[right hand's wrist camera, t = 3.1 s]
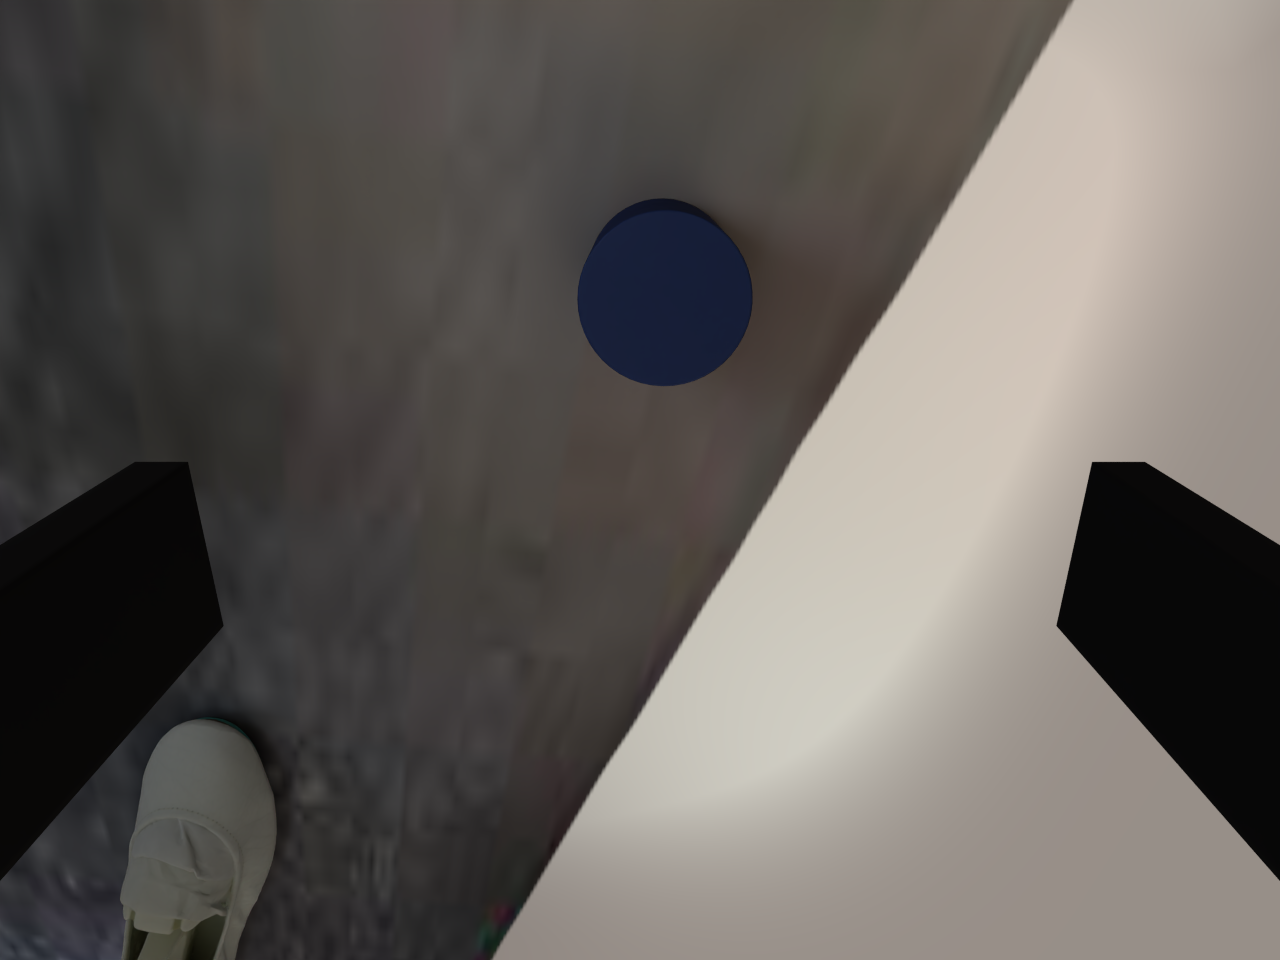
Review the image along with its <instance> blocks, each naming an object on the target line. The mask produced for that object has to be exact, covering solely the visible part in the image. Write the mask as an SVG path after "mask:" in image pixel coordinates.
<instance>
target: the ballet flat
mask: <svg viewBox="0 0 1280 960" xmlns="http://www.w3.org/2000/svg"><path fill="white" fill-rule="evenodd" d="M276 835H277V819H276V809H275V802H274V795H273V791H272V789H271V786H270V783H269V780H268V778H267V775H266V773H265V770H264V767H263V764H262V762H261V759H260V757H259V754H258V752H257V750H256V748H255V746H254V744H253V743H252V741H251V740H250V739H249V737H248V736H247V735H246V734H245V733H244V732H243V731H242V730H241V729H240V728H239V727H237V726H236V725H234V724H233V723H231V722H228V721H226V720H224V719H220V718H213V717H204V718H199V719H196V720H190V721H186V722H184V723H181V724H179V725H177V726H175V727H174V728H172V729H171V730H170V731H169V732H168V733H167V734H165V735H164V736H163V737H162V739H161V740H160V741H159V742H158V744H157V746H156V748H155V749H154V751H153V753H152V755H151V757H150V760H149V762H148V764H147V767H146V769H145V773H144V776H143V781H142V790H141V797H140V802H139V808H138V814H137V819H136V824H135V831H134V833H133V835H132V838H131V841H130V845H129V863H128V868H127V871H126V876H125V879H124V882H123V885H122V891H121V897H120V901H121V903H122V904H123V905H124V906H123V915H124V919H125V920H126V926H125V933H124V942H123V953H122V959H121V960H235V957H236V952H237V948H238V943H239V939H240V937H241V934H242V931H243V929H244V927H245V924H246V921H247V918H248V916H249V914H250V912H251V909H252V907H253V906H254V904H255V903H256V901H257V900H258V896H259V894H260V892H261V890H262V887H263V885H264V883H265V880H266V878H267V876H268V873H269V870H270V867H271V864H272V861H273V856H274V851H275V845H276Z"/></svg>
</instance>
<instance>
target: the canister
mask: <svg viewBox="0 0 1280 960" xmlns="http://www.w3.org/2000/svg"><path fill="white" fill-rule="evenodd" d="M751 309H752V284H751V278H750V274H749V271H748V268H747V265H746V263H745V260H744V258H743V256H742V254H741V253H740V251H739V249H738V248H737V246H736V245H735V244H734V242H733V241H732V240H731V238H730V237H729V236H728V235H727V234H726V233H725V232H724V231H723V230H722V229H721V228H720V227H719V226H718V225H717V224H716V223H715V222H714V221H713V220H712V219H711V218H710V217H709V216H708V215H707V214H705V213H704V212H703V211H701V210H700V209H698V208H696V207H694V206H693V205H690V204H688V203H685V202H682V201H678V200H674V199H651V200H646V201H642V202H639V203H636V204H633V205H631V206H629V207H627V208H625V209H624V210H622V211H621V212H619V213H618V214H617V215H616V216H614V217H613V218H612V219H611V220H610V221H609V222H608V223H607V225H606V226H605V227H604V228H603V230H602V231H601V233H600V234H599V236H598V237H597V240H596V242H595V244H594V246H593V248H592V250H591V252H590V254H589V256H588V258H587V260H586V262H585V264H584V267H583V270H582V273H581V276H580V281H579V286H578V312H579V317H580V321H581V325H582V328H583V330H584V333H585V335H586V337H587V339H588V341H589V343H590V345H591V346H592V348H593V349H594V351H595V352H596V353H597V354H598V356H599V357H600V358H601V359H602V360H603V361H604V362H605V363H606V364H607V365H608V366H609V367H611V368H612V369H613V370H615V371H616V372H618V373H619V374H621V375H623V376H625V377H627V378H629V379H631V380H634V381H637V382H640V383H644V384H648V385H655V386H674V385H680V384H685V383H688V382H692V381H695V380H697V379H699V378H702V377H704V376H706V375H707V374H709V373H711V372H712V371H714V370H715V369H717V368H718V367H719V366H720V365H722V364H723V363H724V362H725V361H726V360H727V359H728V358H729V357H730V356H731V354H732V353H733V352H734V350H735V349H736V348H737V347H738V345H739V343H740V341H741V340H742V338H743V336H744V334H745V331H746V329H747V326H748V323H749V319H750V316H751Z"/></svg>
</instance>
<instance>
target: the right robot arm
mask: <svg viewBox="0 0 1280 960" xmlns="http://www.w3.org/2000/svg"><path fill="white" fill-rule="evenodd" d="M222 627H223V621H222V617H221V612H220V607H219V603H218V598H217V594H216V589H215V584H214V580H213V575H212V571H211V566H210V561H209V557H208V552H207V548H206V543H205V539H204V534H203V529H202V525H201V520H200V516H199V511H198V506H197V502H196V497H195V493H194V488H193V484H192V479H191V474H190V470H189V465H188V462H134V463H133V464H131V465H129V466H128V467H126V468H124V469H123V470H121V471H120V472H118V473H116V474H115V475H113V476H112V477H110V478H108V479H107V480H105V481H103V482H102V483H100V484H99V485H97V486H95V487H94V488H92V489H90V490H89V491H87V492H86V493H84V494H82V495H81V496H79V497H77V498H76V499H74V500H73V501H71V502H69V503H68V504H66V505H65V506H63V507H61V508H60V509H58V510H56V511H55V512H53V513H52V514H50V515H48V516H47V517H45V518H43V519H42V520H40V521H39V522H37V523H35V524H34V525H32V526H30V527H29V528H27V529H26V530H24V531H22V532H21V533H19V534H17V535H16V536H14V537H13V538H11V539H9V540H8V541H6V542H5V543H3V544H1V545H0V880H1V879H2V878H3V877H4V876H5V875H6V874H7V872H8V871H9V870H10V869H11V868H12V867H13V866H14V864H15V863H16V862H17V861H18V860H19V859H20V858H21V856H22V855H23V854H24V853H25V852H26V851H27V850H28V848H29V847H30V846H31V845H32V844H33V843H34V842H35V840H36V839H37V838H38V837H39V836H40V835H41V834H42V832H43V831H44V830H45V829H46V828H47V827H48V826H49V824H50V823H51V822H52V821H53V820H54V819H55V818H56V816H57V815H58V814H59V813H60V812H61V811H62V810H63V809H64V807H65V806H66V805H67V804H68V803H69V802H70V801H71V799H72V798H73V797H74V796H75V795H76V794H77V793H78V791H79V790H80V789H81V788H82V787H83V786H84V785H85V783H86V782H87V781H88V780H89V779H90V778H91V777H92V775H93V774H94V773H95V772H96V771H97V770H98V769H99V767H100V766H101V765H102V764H103V763H104V762H105V761H106V759H107V758H108V757H109V756H110V755H111V754H112V753H113V751H114V750H115V749H116V748H117V747H118V746H119V745H120V743H121V742H122V741H123V740H124V739H125V738H126V737H127V735H128V734H129V733H130V732H131V731H132V730H133V729H134V727H135V726H136V725H137V724H138V723H139V722H140V721H141V719H142V718H143V717H144V716H145V715H146V714H147V713H148V711H149V710H150V709H151V708H152V707H153V706H154V705H155V703H156V702H157V701H158V700H159V699H160V698H161V697H162V696H163V694H164V693H165V692H166V691H167V690H168V689H169V688H170V686H171V685H172V684H173V683H174V682H175V681H176V680H177V678H178V677H179V676H180V675H181V674H182V673H183V672H184V670H185V669H186V668H187V667H188V666H189V665H190V664H191V662H192V661H193V660H194V659H195V658H196V657H197V656H198V654H199V653H200V652H201V651H202V650H203V649H204V648H205V646H206V645H207V644H208V643H209V642H210V641H211V640H212V638H213V637H214V636H215V635H216V634H217V633H218V632H219V630H220V629H221V628H222ZM1057 627H1058V628H1059V629H1060V630H1061V632H1062V633H1063V634H1064V635H1065V636H1066V637H1067V638H1068V640H1069V641H1070V642H1071V643H1072V644H1073V645H1074V646H1075V648H1076V649H1077V650H1078V651H1079V652H1080V653H1081V654H1082V656H1083V657H1084V658H1085V659H1086V660H1087V661H1088V662H1089V663H1090V665H1091V666H1092V667H1093V668H1094V669H1095V670H1096V671H1097V673H1098V674H1099V675H1100V676H1101V677H1102V678H1103V680H1104V681H1105V682H1106V683H1107V684H1108V685H1109V686H1110V688H1111V689H1112V690H1113V691H1114V692H1115V693H1116V694H1117V696H1118V697H1119V698H1120V699H1121V700H1122V701H1123V702H1124V703H1125V705H1126V706H1127V707H1128V708H1129V709H1130V710H1131V711H1132V713H1133V714H1134V715H1135V716H1136V717H1137V718H1138V719H1139V721H1140V722H1141V723H1142V724H1143V725H1144V726H1145V727H1146V729H1147V730H1148V731H1149V732H1150V733H1151V734H1152V735H1153V737H1154V738H1155V739H1156V740H1157V741H1158V742H1159V743H1160V745H1161V746H1162V747H1163V748H1164V749H1165V750H1166V751H1167V753H1168V754H1169V755H1170V756H1171V757H1172V758H1173V759H1174V761H1175V762H1176V763H1177V764H1178V765H1179V766H1180V767H1181V769H1182V770H1183V771H1184V772H1185V773H1186V774H1187V775H1188V777H1189V778H1190V779H1191V780H1192V781H1193V782H1194V783H1195V785H1196V786H1197V787H1198V788H1199V789H1200V790H1201V791H1202V793H1203V794H1204V795H1205V796H1206V797H1207V798H1208V799H1209V800H1210V802H1211V803H1212V804H1213V805H1214V806H1215V807H1216V808H1217V810H1218V811H1219V812H1220V813H1221V814H1222V815H1223V816H1224V818H1225V819H1226V820H1227V821H1228V822H1229V823H1230V824H1231V826H1232V827H1233V828H1234V829H1235V830H1236V831H1237V832H1238V834H1239V835H1240V836H1241V837H1242V838H1243V839H1244V840H1245V842H1246V843H1247V844H1248V845H1249V846H1250V847H1251V848H1252V850H1253V851H1254V852H1255V853H1256V854H1257V855H1258V856H1259V858H1260V859H1261V860H1262V861H1263V862H1264V863H1265V864H1266V866H1267V867H1268V868H1269V869H1270V870H1271V871H1272V872H1273V874H1274V875H1275V876H1276V877H1277V878H1278V879H1279V880H1280V545H1279V544H1277V543H1275V542H1274V541H1272V540H1271V539H1269V538H1267V537H1266V536H1264V535H1262V534H1261V533H1259V532H1258V531H1256V530H1254V529H1253V528H1251V527H1250V526H1248V525H1246V524H1245V523H1243V522H1241V521H1240V520H1238V519H1237V518H1235V517H1233V516H1232V515H1230V514H1228V513H1227V512H1225V511H1224V510H1222V509H1220V508H1219V507H1217V506H1215V505H1214V504H1212V503H1211V502H1209V501H1207V500H1206V499H1204V498H1203V497H1201V496H1199V495H1198V494H1196V493H1194V492H1193V491H1191V490H1190V489H1188V488H1186V487H1185V486H1183V485H1181V484H1180V483H1178V482H1176V481H1175V480H1173V479H1172V478H1170V477H1168V476H1167V475H1165V474H1164V473H1162V472H1160V471H1159V470H1157V469H1155V468H1154V467H1152V466H1151V465H1149V464H1147V463H1146V462H1092V465H1091V470H1090V474H1089V479H1088V484H1087V488H1086V493H1085V497H1084V502H1083V506H1082V511H1081V516H1080V520H1079V525H1078V529H1077V534H1076V539H1075V543H1074V548H1073V552H1072V557H1071V561H1070V566H1069V571H1068V575H1067V580H1066V584H1065V589H1064V594H1063V598H1062V603H1061V608H1060V612H1059V617H1058V621H1057Z"/></svg>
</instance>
